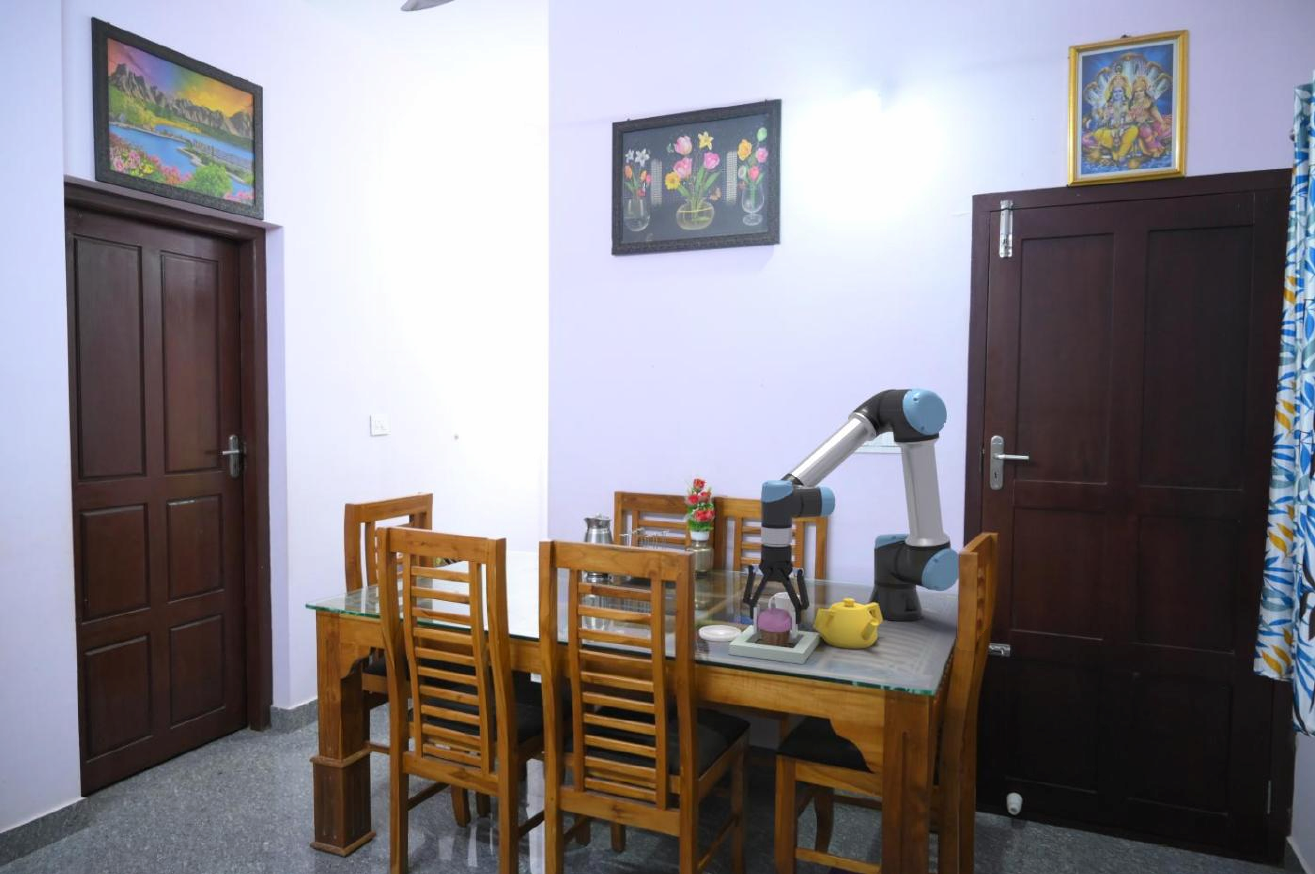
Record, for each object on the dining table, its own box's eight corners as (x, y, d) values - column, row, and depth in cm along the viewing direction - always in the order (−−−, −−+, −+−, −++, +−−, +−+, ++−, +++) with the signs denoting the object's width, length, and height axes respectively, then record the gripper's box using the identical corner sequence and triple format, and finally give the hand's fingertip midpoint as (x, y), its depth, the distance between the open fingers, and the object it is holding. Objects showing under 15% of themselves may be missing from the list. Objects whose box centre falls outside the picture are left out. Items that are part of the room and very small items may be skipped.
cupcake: (800, 650, 201) (800, 609, 201) (773, 656, 196) (773, 614, 196) (776, 640, 209) (776, 602, 208) (749, 646, 204) (750, 606, 203)
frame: (819, 642, 207) (819, 633, 207) (802, 663, 191) (802, 653, 191) (750, 634, 214) (750, 625, 214) (728, 654, 198) (729, 644, 198)
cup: (788, 629, 219) (788, 599, 219) (760, 621, 227) (760, 592, 226) (805, 624, 224) (805, 595, 223) (777, 617, 231) (777, 588, 231)
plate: (746, 632, 216) (746, 627, 216) (733, 643, 206) (733, 638, 206) (707, 627, 221) (707, 622, 220) (692, 638, 210) (692, 633, 210)
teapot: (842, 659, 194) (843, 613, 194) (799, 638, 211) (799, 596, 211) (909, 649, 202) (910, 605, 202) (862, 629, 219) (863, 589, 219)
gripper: (823, 544, 200) (822, 635, 202) (738, 538, 209) (737, 625, 210) (817, 549, 194) (815, 643, 195) (729, 543, 202) (728, 633, 203)
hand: (775, 634), depth 202 cm, fingers closed on cupcake, 9 cm apart
